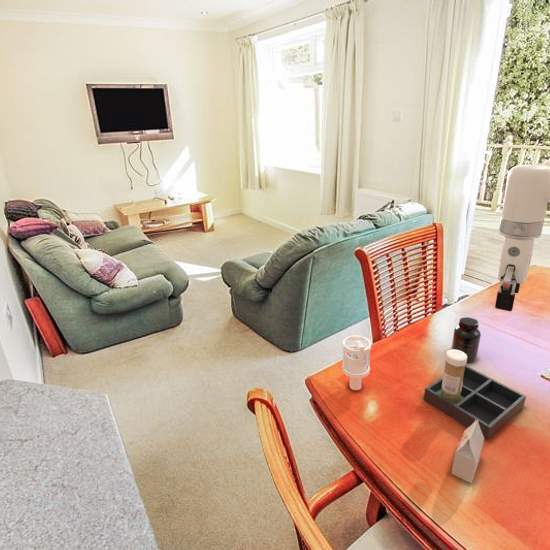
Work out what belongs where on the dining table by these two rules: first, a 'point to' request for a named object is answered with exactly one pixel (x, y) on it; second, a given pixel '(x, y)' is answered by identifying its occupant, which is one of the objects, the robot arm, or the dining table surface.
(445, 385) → the sprinkles bottle
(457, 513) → the dining table surface
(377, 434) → the dining table surface
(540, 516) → the dining table surface
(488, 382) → the rack
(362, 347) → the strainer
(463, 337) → the supplement bottle
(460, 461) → the white gable-top carton
